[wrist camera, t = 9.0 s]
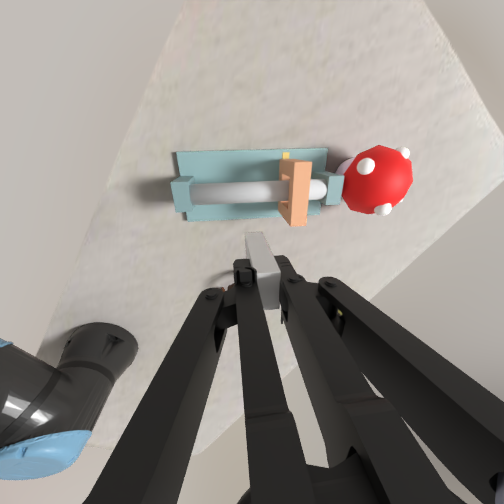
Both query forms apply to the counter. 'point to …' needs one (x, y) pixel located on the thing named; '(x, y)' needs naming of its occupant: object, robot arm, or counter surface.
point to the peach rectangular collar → (295, 190)
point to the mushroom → (376, 179)
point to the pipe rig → (247, 183)
